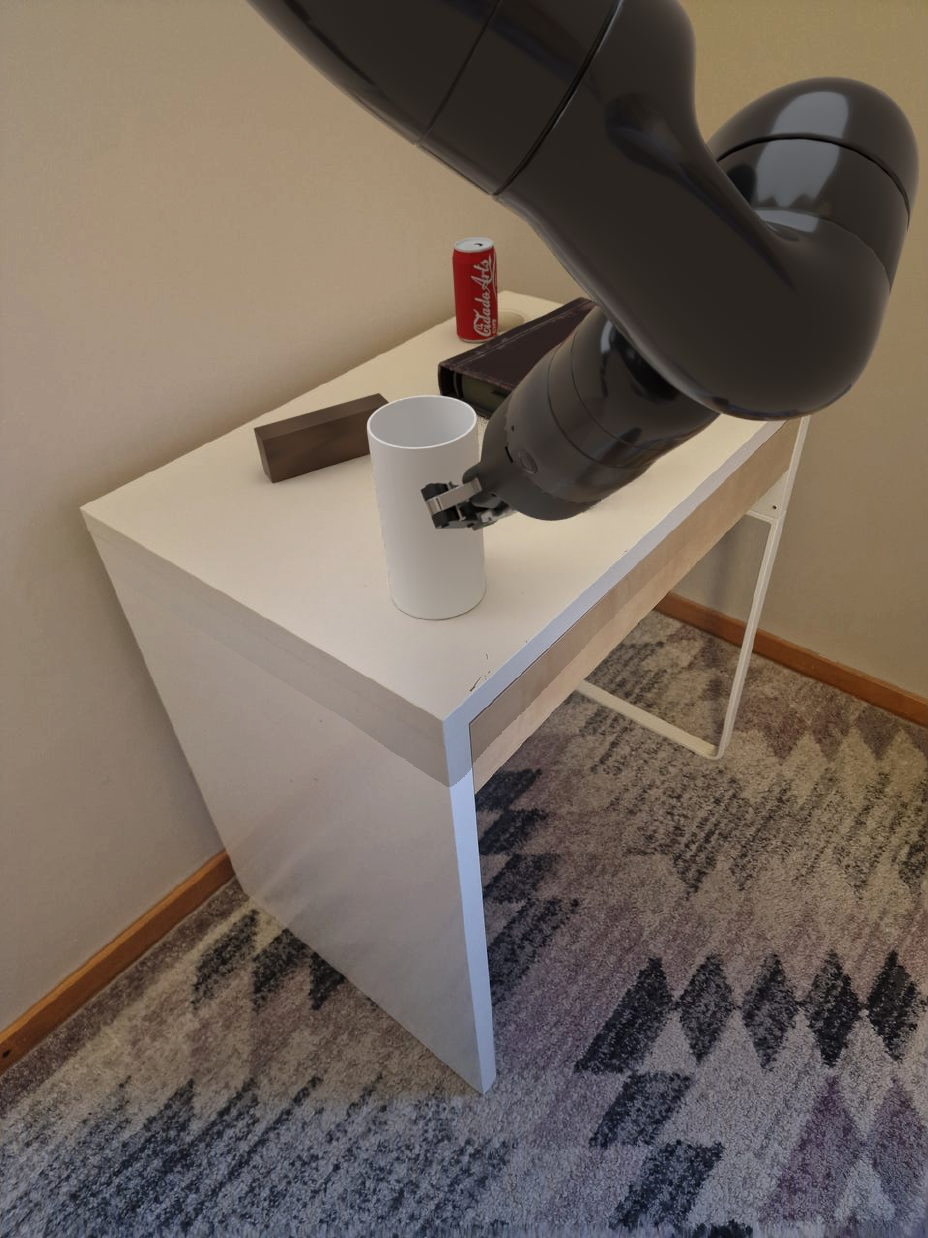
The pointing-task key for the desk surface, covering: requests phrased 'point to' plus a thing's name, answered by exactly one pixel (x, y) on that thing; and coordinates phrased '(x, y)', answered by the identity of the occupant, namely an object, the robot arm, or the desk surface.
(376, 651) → the desk surface
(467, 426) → the cup
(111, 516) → the desk surface
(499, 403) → the diary
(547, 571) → the desk surface
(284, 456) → the bar
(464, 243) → the soda can
